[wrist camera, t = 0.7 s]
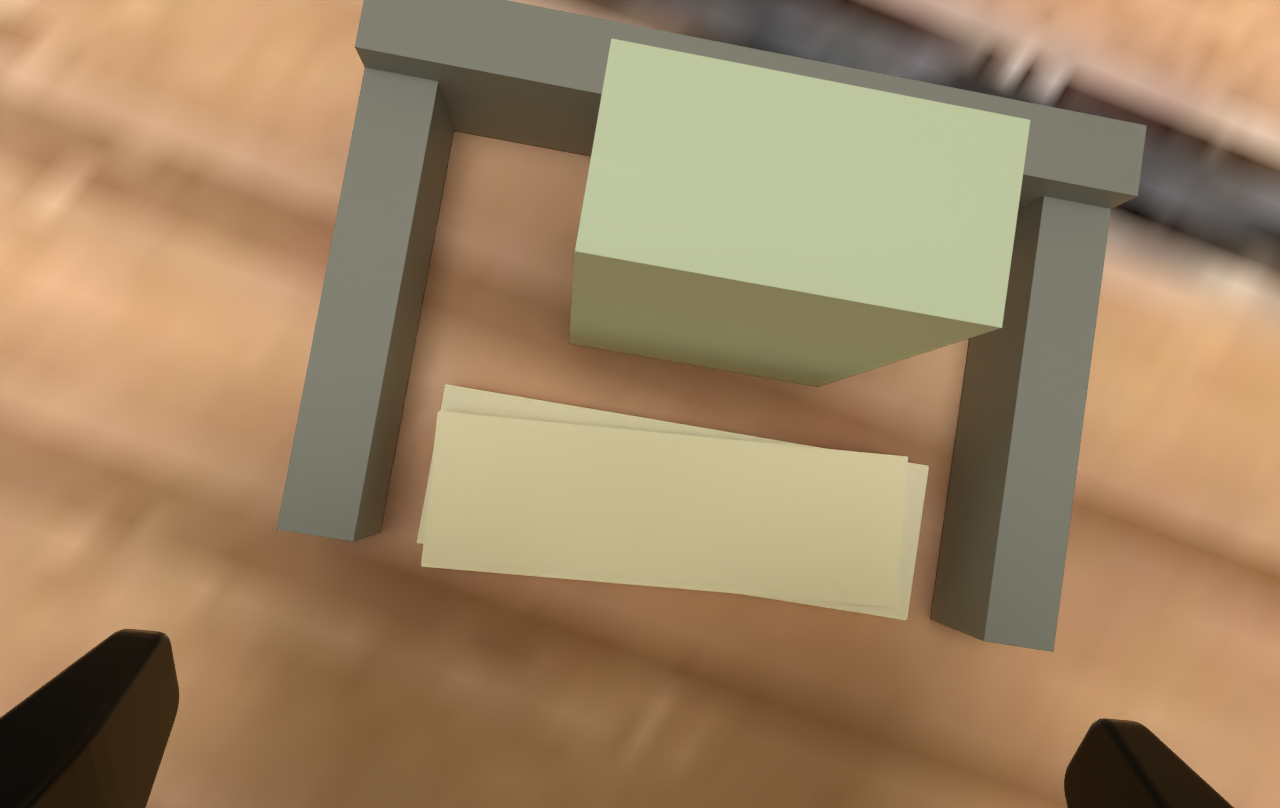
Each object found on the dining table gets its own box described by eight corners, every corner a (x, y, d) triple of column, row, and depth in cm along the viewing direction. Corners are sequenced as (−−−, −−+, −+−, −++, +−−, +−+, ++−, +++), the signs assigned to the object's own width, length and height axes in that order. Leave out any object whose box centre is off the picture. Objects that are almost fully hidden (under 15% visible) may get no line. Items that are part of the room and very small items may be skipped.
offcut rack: (989, 643, 24) (1075, 678, 20) (311, 536, 23) (257, 551, 19) (1051, 181, 25) (1146, 125, 21) (401, 57, 23) (369, -27, 20)
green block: (817, 386, 24) (1001, 327, 14) (568, 343, 23) (574, 251, 13) (836, 264, 24) (1030, 119, 14) (590, 219, 24) (611, 38, 14)
